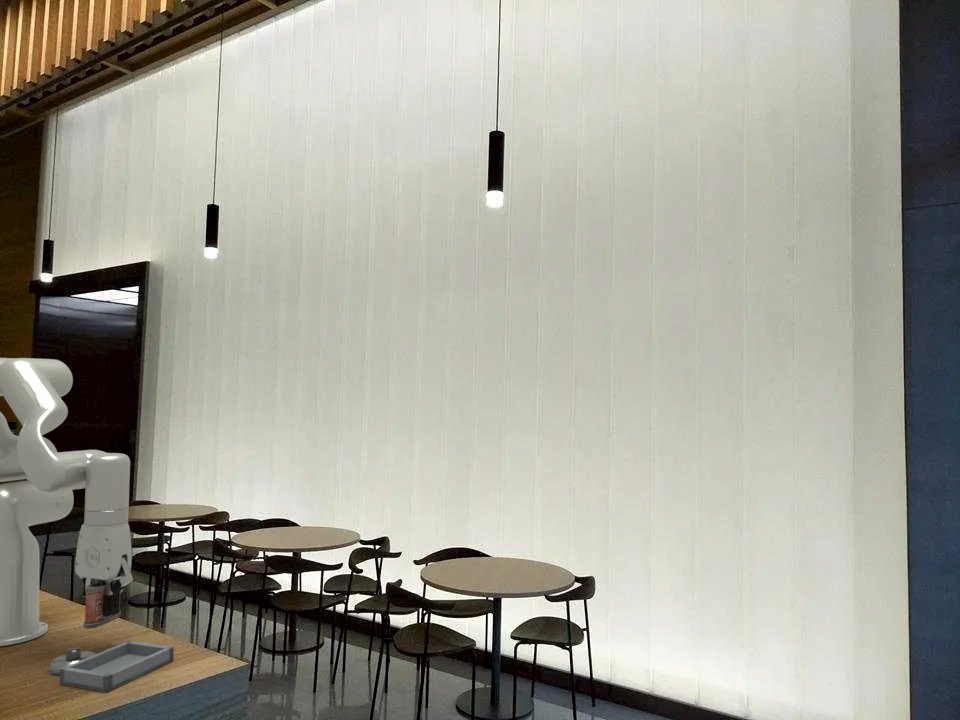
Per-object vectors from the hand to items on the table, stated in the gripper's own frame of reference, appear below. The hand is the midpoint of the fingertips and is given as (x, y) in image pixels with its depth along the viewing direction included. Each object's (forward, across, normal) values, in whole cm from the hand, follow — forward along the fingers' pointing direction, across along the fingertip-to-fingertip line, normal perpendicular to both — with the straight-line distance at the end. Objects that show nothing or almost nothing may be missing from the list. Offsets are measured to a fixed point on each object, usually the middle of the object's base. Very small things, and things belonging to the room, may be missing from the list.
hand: (103, 612), depth 132 cm
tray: (+7, +13, -7) cm, 16 cm away
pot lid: (+7, +3, -8) cm, 11 cm away
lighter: (+2, 0, 0) cm, 2 cm away
